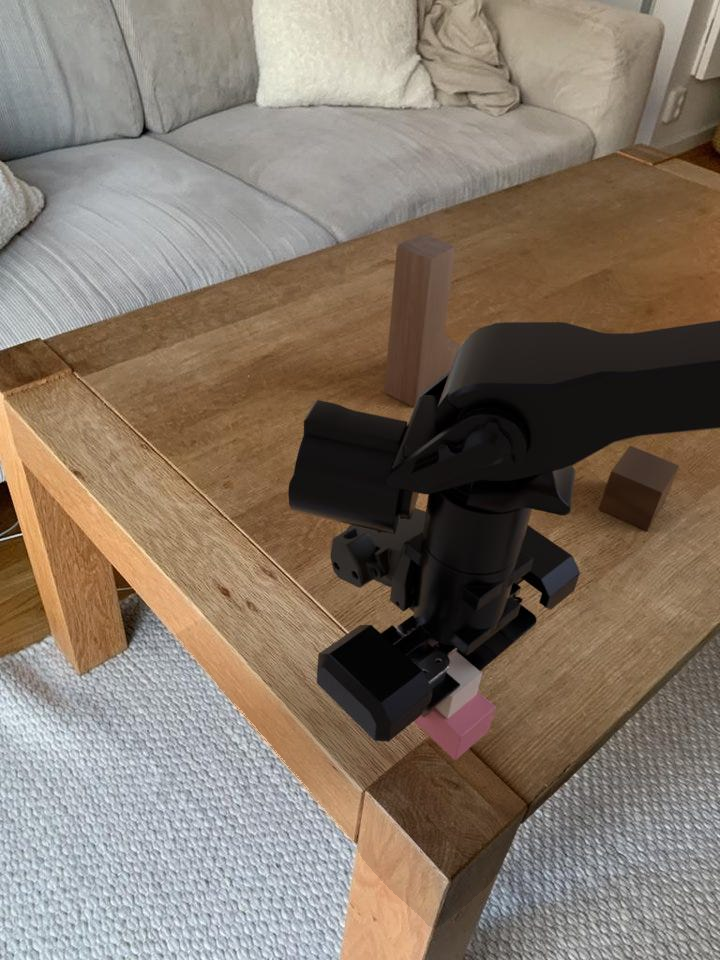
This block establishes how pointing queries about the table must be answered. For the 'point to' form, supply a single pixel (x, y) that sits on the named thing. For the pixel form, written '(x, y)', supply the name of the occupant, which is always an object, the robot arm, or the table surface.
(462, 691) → the pink block with cube
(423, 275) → the wooden block
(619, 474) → the walnut block
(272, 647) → the table surface
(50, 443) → the table surface
